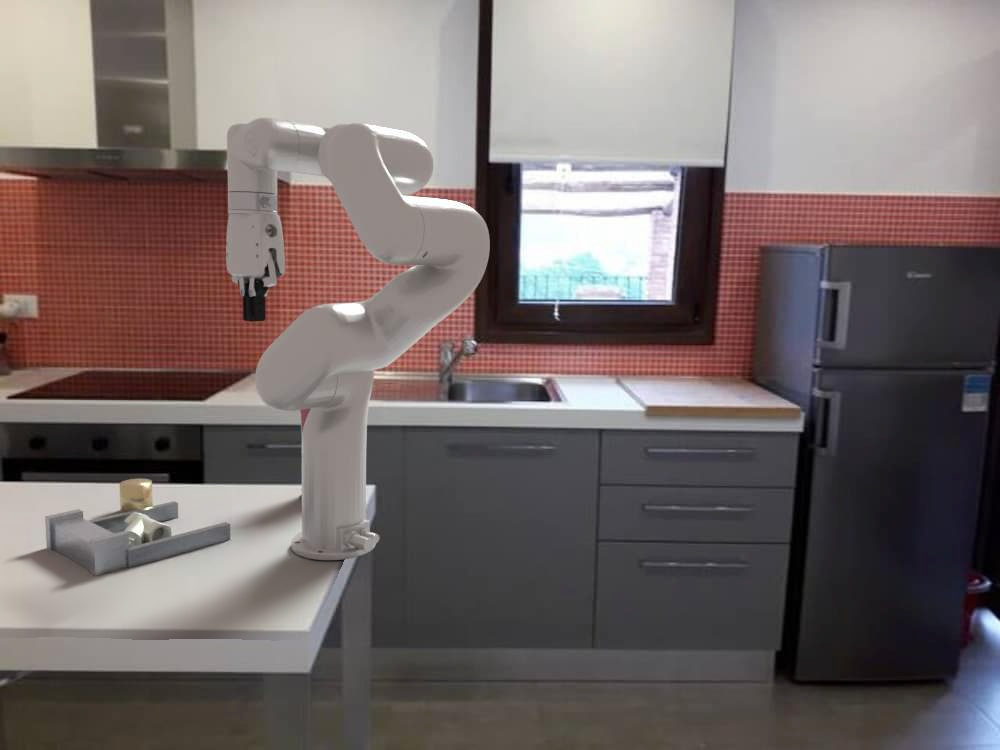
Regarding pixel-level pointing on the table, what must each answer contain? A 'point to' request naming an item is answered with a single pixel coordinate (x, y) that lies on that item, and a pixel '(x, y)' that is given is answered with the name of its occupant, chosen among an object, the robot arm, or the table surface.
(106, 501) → the table surface
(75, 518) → the pipe jig
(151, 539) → the pipe fitting
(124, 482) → the cylinder
